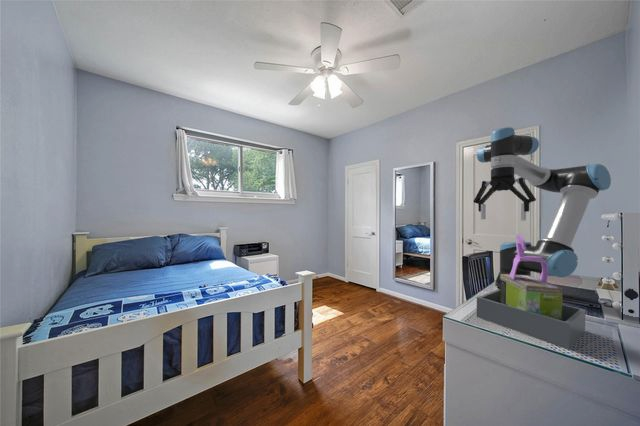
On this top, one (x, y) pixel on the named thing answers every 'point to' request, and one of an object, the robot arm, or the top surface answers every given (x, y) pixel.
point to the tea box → (531, 295)
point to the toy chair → (527, 259)
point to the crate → (533, 320)
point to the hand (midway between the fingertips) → (502, 219)
